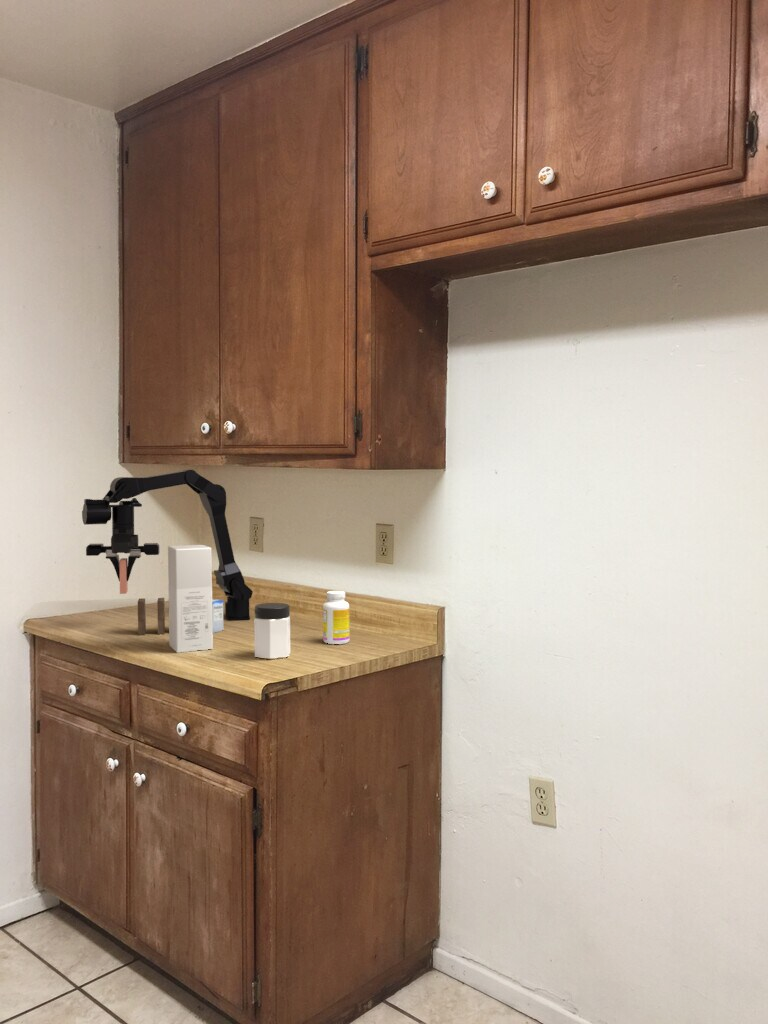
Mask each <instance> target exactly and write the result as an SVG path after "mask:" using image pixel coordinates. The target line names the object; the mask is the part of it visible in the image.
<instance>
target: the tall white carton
mask: <svg viewBox="0 0 768 1024" xmlns="http://www.w3.org/2000/svg"><path fill="white" fill-rule="evenodd" d="M167 561H168V562H167V564H168V565H167V567H168V570H167V571H168V587H167V588H168V631H169V632H168V633H169V634H168V636H169V637H168V638H169V639H168V640H169V641H168V642H169V645H168V646H169V647H170V648H171V649H172V650H174V651H175V653H176V654H179V653H181V652H182V653H190V652H189V651H193V652H198V651H197V650H203V651H209V650H208V649H212V650H213V648H214V638H213V636H214V633H213V618H212V599H213V578H212V577H213V573H212V572H213V571H212V568H213V567H212V564H213V563H212V562H213V559H212V547H210V546H208V545H204V544H189V545H187V544H186V545H185V544H184V545H168V546H167Z"/></svg>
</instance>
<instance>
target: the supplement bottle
mask: <svg viewBox="0 0 768 1024" xmlns="http://www.w3.org/2000/svg"><path fill="white" fill-rule="evenodd" d="M326 597H327V601H325V602H324V603H323V606H322V613H323V614H322V621H323V622H322V624H323V626H322V627H323V628H322V629H323V631H322V634H323V637H322V638H323V642H324V643H325V644H327V643H328V644H327V645H334V644H339V645H344V644H345V645H346V644H348V643H349V642H350V639H351V637H350V635H351V634H350V630H351V629H350V603H349V602H348V601H345V598H346V592H345V591H344V590H343V591H342V590H330V591H327V592H326Z"/></svg>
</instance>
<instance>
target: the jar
mask: <svg viewBox="0 0 768 1024" xmlns="http://www.w3.org/2000/svg"><path fill="white" fill-rule="evenodd" d="M290 608H291V607H290V604H288V603H282V602H266V603H265V602H264V603H259V604H256V605H255V606H254V619H253V621H254V631H253V632H254V658H255V657H264V658H278V657H287V656H289V657H290V655H291V615H290V613H291V612H290V611H291V610H290ZM289 654H290V655H289Z"/></svg>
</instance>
